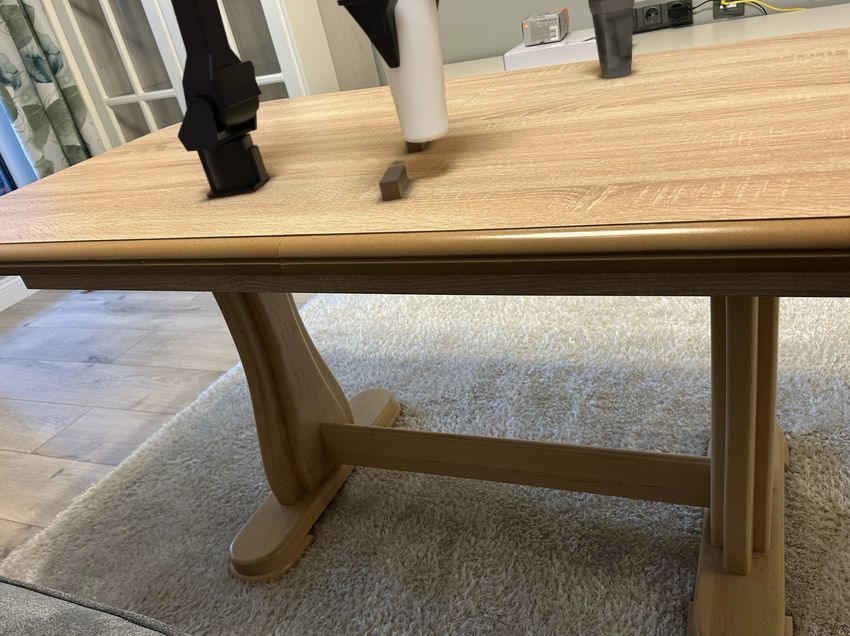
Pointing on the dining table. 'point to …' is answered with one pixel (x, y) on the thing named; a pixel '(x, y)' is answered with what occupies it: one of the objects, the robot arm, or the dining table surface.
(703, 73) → the dining table surface
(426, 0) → the drinking glass
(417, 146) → the far stick
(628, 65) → the beverage cup
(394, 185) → the near stick
